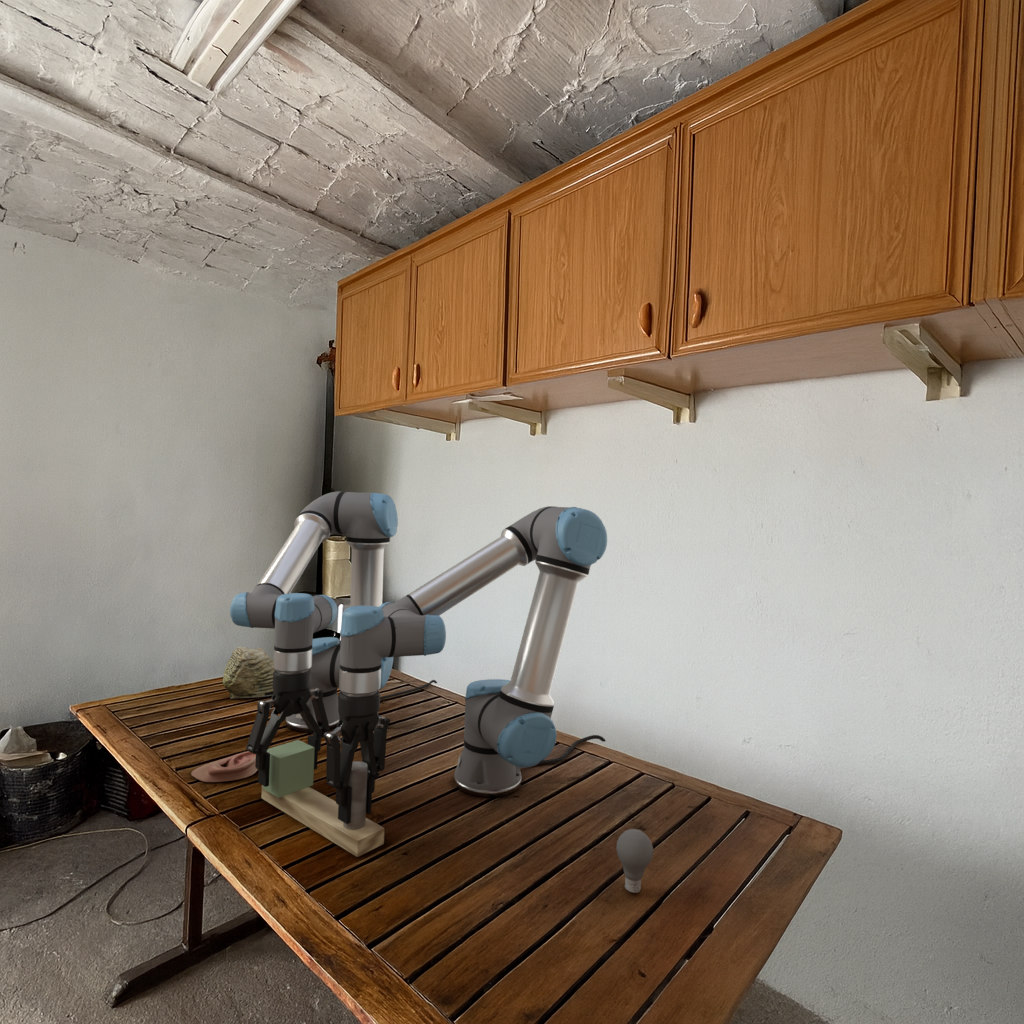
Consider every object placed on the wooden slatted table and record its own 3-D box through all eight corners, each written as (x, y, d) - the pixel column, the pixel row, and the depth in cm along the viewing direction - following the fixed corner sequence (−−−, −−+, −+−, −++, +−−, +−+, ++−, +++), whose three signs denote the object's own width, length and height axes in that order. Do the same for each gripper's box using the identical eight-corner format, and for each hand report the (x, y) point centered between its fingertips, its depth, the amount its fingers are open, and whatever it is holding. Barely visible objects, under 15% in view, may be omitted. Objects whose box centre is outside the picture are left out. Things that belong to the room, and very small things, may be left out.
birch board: (287, 788, 137) (289, 724, 136) (383, 844, 117) (386, 768, 116) (261, 798, 132) (263, 731, 132) (357, 857, 112) (360, 779, 112)
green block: (297, 776, 136) (298, 739, 136) (313, 785, 132) (314, 747, 132) (262, 788, 130) (263, 750, 130) (278, 798, 126) (279, 758, 126)
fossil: (218, 695, 195) (220, 647, 195) (278, 685, 208) (279, 640, 207) (228, 703, 189) (230, 653, 188) (289, 692, 201) (290, 645, 201)
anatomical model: (182, 760, 139) (216, 741, 150) (181, 778, 139) (216, 758, 150) (236, 768, 136) (267, 748, 147) (235, 786, 136) (266, 765, 147)
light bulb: (610, 879, 108) (613, 822, 108) (644, 879, 109) (647, 822, 109) (619, 902, 102) (622, 840, 102) (655, 901, 103) (658, 840, 103)
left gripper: (328, 656, 142) (325, 754, 142) (229, 676, 124) (225, 787, 125) (349, 663, 137) (345, 764, 138) (249, 684, 119) (245, 800, 120)
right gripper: (382, 677, 126) (378, 794, 126) (307, 696, 113) (302, 826, 113) (408, 685, 121) (403, 806, 122) (332, 706, 108) (327, 841, 108)
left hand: (288, 775), depth 131 cm, fingers open, 10 cm apart
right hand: (354, 815), depth 117 cm, fingers closed on birch board, 4 cm apart
